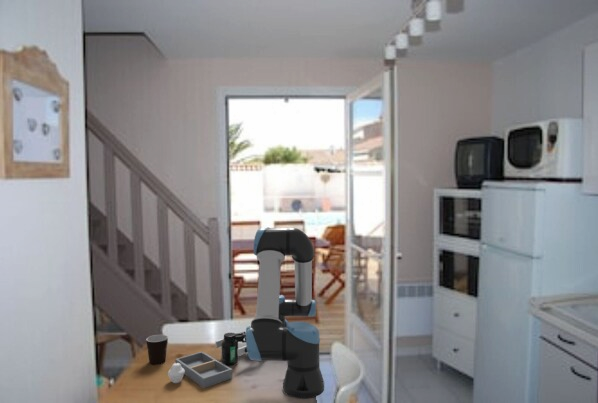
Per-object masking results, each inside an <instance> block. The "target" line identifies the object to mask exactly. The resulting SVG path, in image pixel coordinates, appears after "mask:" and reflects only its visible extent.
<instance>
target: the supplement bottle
mask: <svg viewBox="0 0 598 403" xmlns="http://www.w3.org/2000/svg"><path fill="white" fill-rule="evenodd" d="M223 338H224V341H223V342H222V344H221V347H220V348H221V363H223V364H224V365H226V366H228V367H232V366H236V365H237V364H238V363H239V356H238V349H239V342H238V341H237V340H235V339H236V333H235V332H226V333H224V334H223Z"/></svg>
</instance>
